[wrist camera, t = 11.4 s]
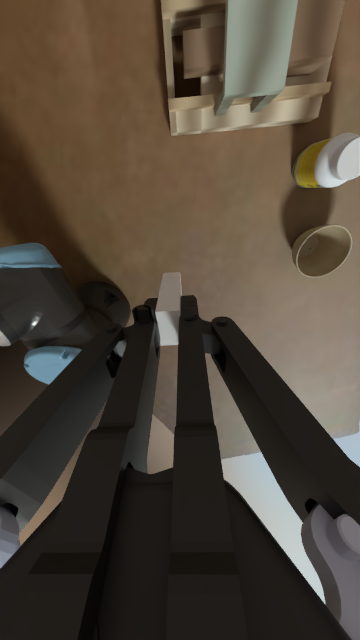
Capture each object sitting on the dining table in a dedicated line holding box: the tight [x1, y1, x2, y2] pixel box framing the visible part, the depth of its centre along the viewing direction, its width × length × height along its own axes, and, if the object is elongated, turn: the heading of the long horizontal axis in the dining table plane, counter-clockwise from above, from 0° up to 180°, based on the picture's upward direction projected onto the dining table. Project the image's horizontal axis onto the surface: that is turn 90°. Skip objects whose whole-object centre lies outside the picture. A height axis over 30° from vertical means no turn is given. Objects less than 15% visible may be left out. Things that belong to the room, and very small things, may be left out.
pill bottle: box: [292, 133, 360, 188], centre depth 31 cm, size 6×6×12 cm
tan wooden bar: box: [183, 0, 345, 79], centre depth 25 cm, size 18×5×5 cm, turn 94°
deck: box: [161, 0, 332, 136], centre depth 25 cm, size 23×14×12 cm, turn 94°
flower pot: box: [292, 225, 352, 278], centre depth 41 cm, size 10×10×7 cm
